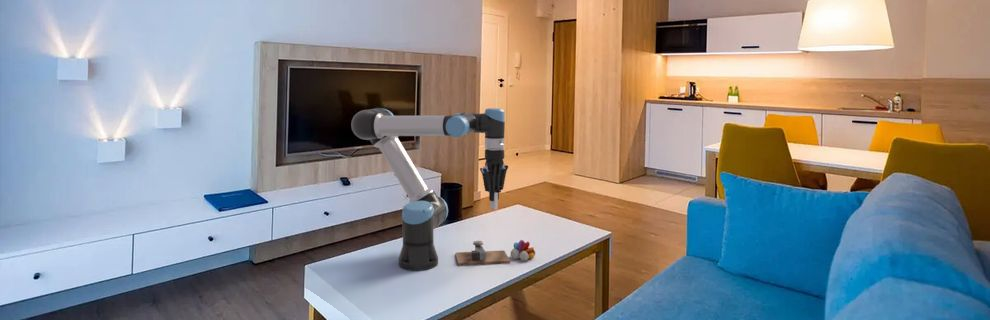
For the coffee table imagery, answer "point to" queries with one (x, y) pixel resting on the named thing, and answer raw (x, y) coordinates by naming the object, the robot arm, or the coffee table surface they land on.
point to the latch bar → (481, 253)
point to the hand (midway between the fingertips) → (493, 208)
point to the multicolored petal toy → (522, 251)
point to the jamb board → (473, 259)
